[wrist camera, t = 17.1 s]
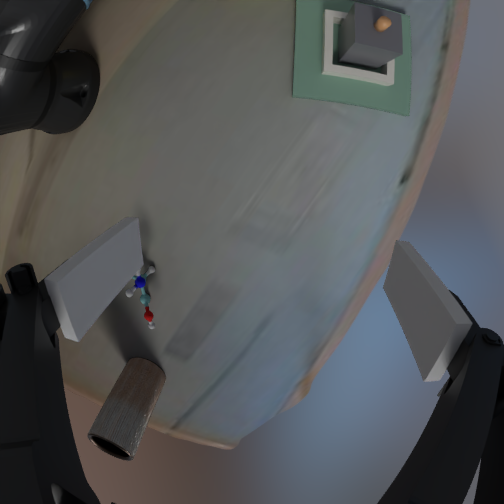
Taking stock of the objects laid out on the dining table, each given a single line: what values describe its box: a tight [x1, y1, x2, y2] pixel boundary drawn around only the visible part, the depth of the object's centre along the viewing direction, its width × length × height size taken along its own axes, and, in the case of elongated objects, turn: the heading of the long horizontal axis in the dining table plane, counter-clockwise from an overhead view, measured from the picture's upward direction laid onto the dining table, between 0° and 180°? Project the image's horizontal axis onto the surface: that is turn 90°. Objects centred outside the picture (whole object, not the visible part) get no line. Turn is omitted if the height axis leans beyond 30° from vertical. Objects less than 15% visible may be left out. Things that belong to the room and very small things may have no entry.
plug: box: [338, 2, 403, 70], centre depth 22 cm, size 5×5×12 cm
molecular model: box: [126, 266, 155, 329], centre depth 45 cm, size 12×10×10 cm
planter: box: [88, 357, 166, 461], centre depth 50 cm, size 10×10×23 cm
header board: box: [292, 0, 411, 116], centre depth 27 cm, size 16×16×4 cm
